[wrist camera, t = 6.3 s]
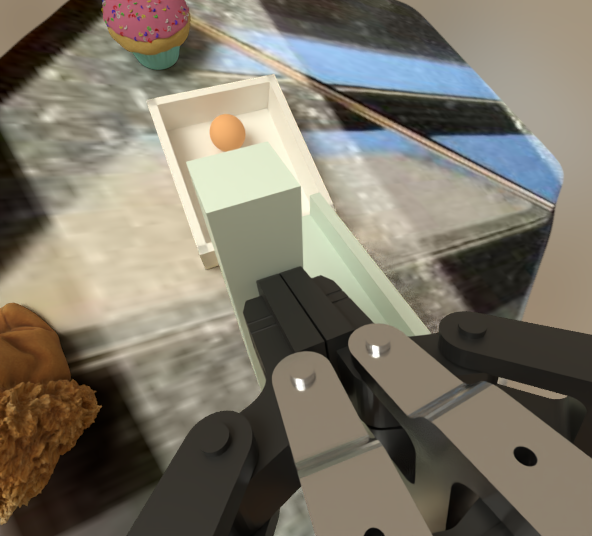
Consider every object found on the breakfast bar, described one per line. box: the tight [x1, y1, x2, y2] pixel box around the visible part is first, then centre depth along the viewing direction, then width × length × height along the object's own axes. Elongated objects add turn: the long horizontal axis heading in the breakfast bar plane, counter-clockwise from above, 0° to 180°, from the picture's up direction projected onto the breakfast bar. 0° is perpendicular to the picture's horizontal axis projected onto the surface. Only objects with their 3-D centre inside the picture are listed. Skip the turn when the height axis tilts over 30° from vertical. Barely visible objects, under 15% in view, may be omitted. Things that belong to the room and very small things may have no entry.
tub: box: [146, 74, 337, 269], centre depth 33 cm, size 16×13×4 cm
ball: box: [210, 114, 246, 152], centre depth 34 cm, size 4×4×4 cm
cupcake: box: [102, 0, 190, 70], centre depth 33 cm, size 9×8×12 cm
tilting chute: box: [186, 141, 431, 392], centre depth 15 cm, size 23×10×16 cm, turn 22°
